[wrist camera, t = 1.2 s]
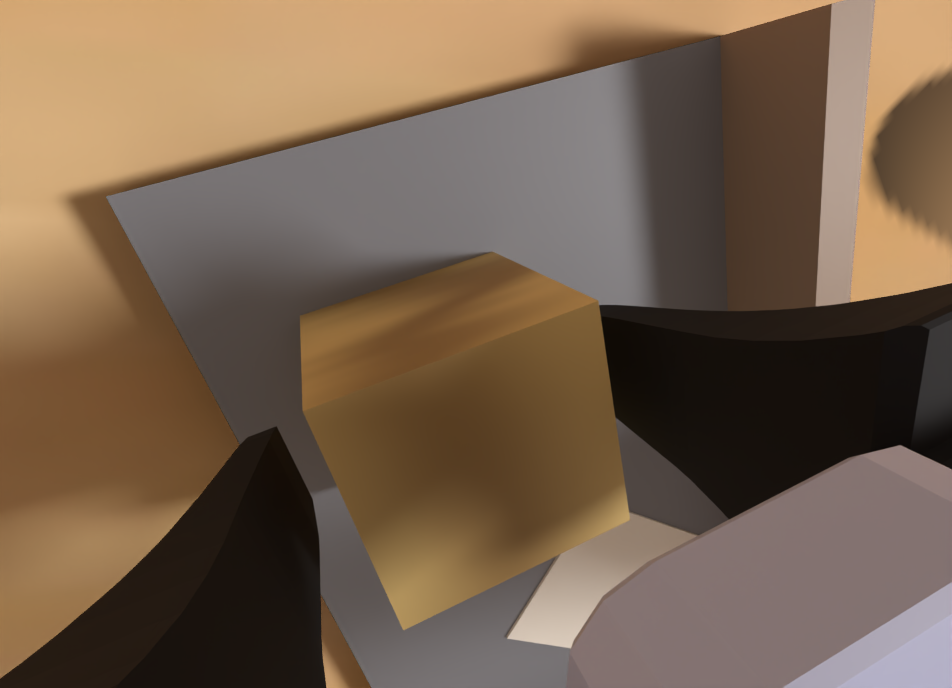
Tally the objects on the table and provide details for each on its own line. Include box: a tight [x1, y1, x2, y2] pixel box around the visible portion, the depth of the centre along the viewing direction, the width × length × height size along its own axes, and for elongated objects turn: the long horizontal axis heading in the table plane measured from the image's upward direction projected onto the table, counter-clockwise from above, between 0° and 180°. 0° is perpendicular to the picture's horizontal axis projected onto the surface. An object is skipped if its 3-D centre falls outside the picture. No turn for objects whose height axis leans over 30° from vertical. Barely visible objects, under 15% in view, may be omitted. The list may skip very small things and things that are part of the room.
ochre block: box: [300, 252, 630, 630], centre depth 11 cm, size 5×5×5 cm
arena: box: [106, 0, 875, 688], centre depth 15 cm, size 16×24×4 cm, turn 14°
